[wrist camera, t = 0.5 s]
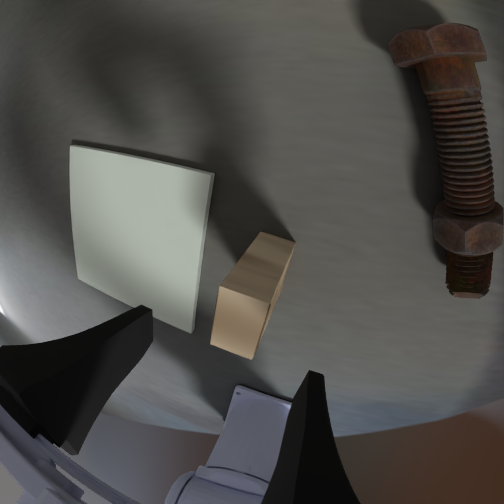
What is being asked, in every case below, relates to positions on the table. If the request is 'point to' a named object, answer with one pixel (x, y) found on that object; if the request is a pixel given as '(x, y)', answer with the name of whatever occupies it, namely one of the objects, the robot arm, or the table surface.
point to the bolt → (457, 149)
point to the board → (140, 230)
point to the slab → (250, 295)
